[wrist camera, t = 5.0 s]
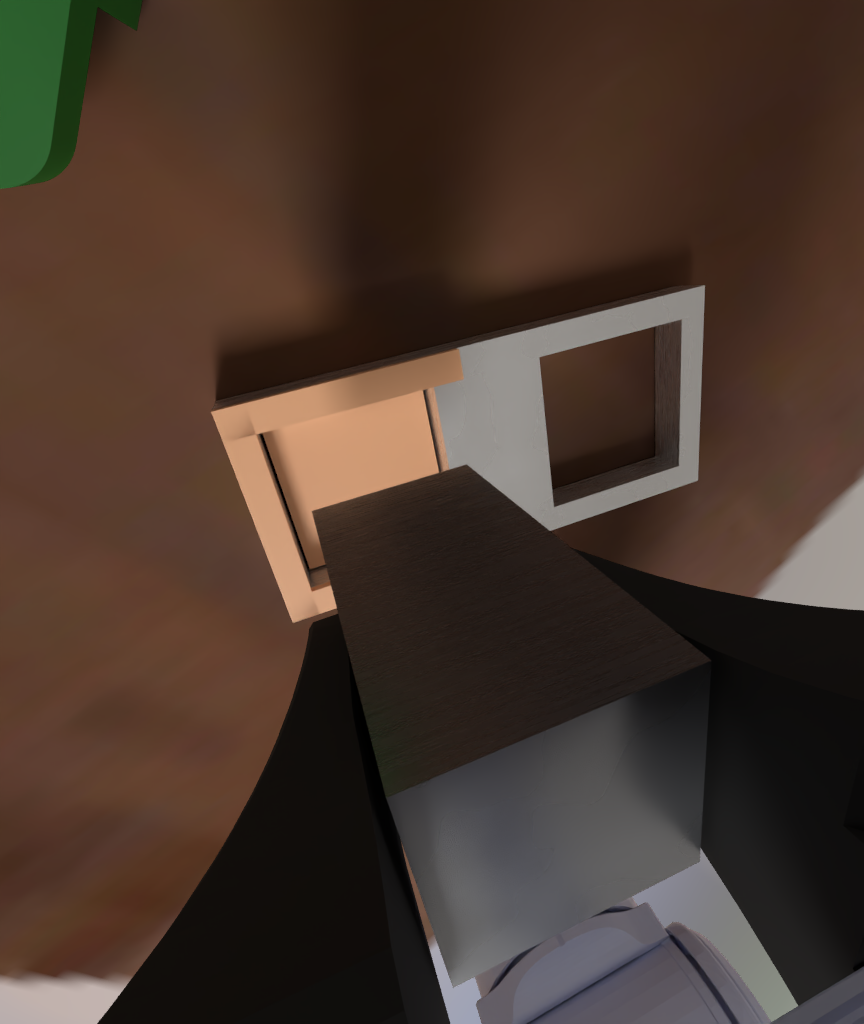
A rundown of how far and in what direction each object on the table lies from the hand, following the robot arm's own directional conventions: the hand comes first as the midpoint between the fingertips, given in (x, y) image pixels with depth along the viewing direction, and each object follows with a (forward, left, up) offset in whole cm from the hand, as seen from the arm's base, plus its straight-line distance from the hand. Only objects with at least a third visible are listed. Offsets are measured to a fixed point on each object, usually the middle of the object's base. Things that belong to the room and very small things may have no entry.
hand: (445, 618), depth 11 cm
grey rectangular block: (0, 0, -3) cm, 3 cm away
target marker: (0, 0, -10) cm, 10 cm away
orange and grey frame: (0, -5, -10) cm, 11 cm away
